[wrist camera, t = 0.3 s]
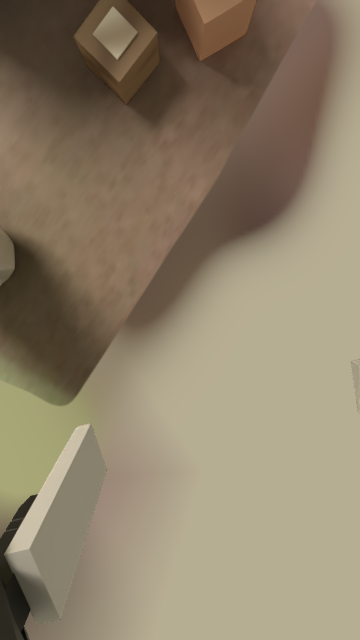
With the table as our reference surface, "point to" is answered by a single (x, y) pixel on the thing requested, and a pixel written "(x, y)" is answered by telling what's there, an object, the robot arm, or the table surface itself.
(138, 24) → the walnut block
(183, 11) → the plain block
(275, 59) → the table surface
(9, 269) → the vase
